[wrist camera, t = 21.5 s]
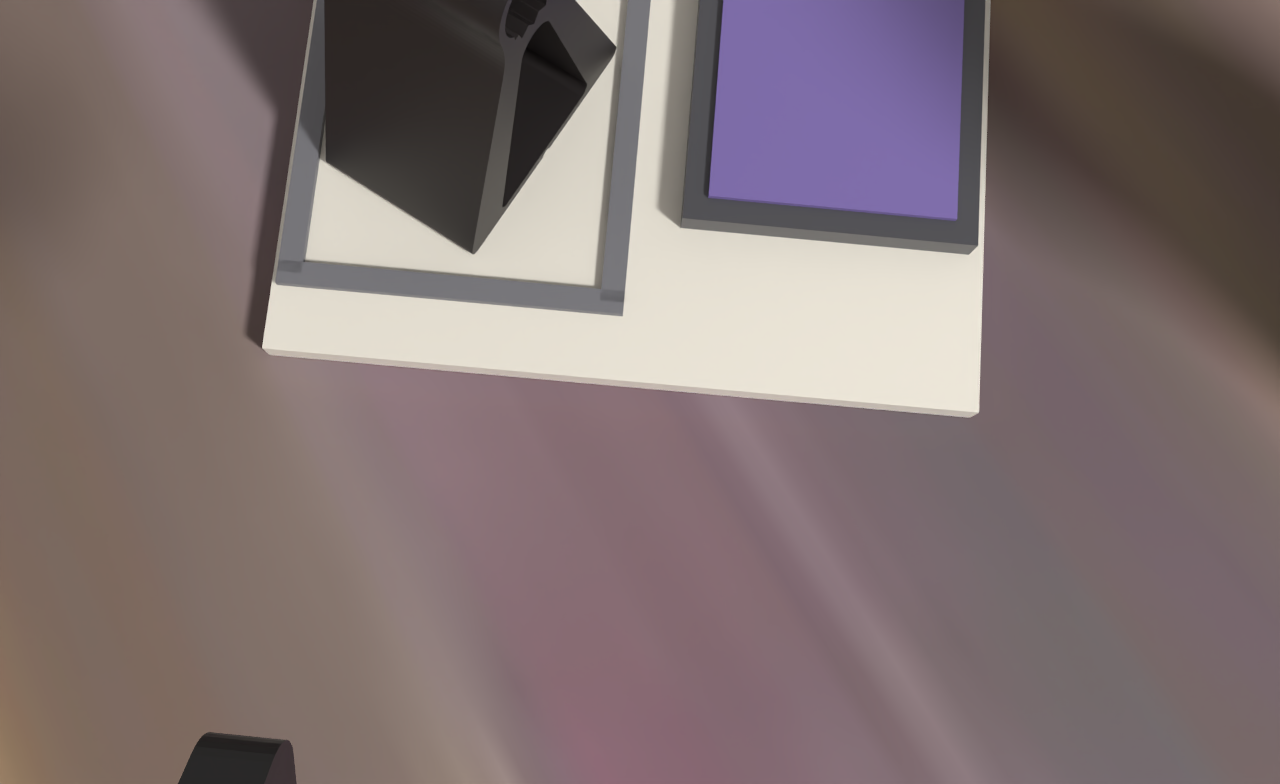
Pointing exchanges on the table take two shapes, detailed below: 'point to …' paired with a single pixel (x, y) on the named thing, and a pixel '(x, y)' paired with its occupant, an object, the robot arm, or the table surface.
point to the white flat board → (645, 274)
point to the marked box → (460, 287)
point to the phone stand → (453, 100)
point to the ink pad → (838, 121)
